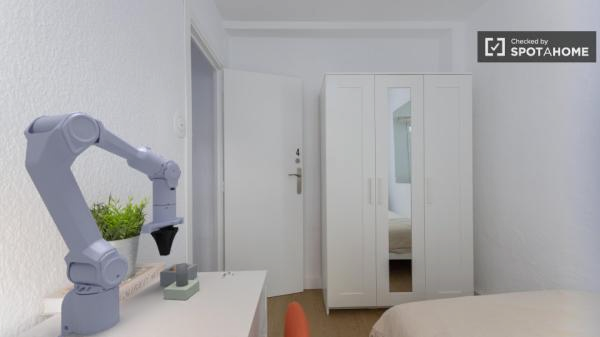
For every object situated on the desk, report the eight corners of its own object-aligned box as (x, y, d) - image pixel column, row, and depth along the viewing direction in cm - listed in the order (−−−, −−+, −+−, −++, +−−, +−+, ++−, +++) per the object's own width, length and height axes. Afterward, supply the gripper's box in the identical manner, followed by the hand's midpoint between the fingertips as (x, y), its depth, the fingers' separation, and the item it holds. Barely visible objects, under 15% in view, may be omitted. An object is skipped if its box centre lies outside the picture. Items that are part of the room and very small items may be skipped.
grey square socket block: (160, 290, 74) (160, 272, 74) (175, 280, 81) (175, 263, 81) (183, 291, 73) (183, 272, 73) (197, 281, 80) (196, 264, 80)
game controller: (238, 283, 79) (237, 274, 79) (196, 288, 76) (196, 278, 77) (238, 276, 84) (238, 268, 84) (200, 280, 82) (200, 271, 82)
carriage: (163, 298, 66) (163, 268, 66) (178, 288, 72) (178, 260, 72) (186, 300, 65) (185, 269, 65) (199, 289, 71) (199, 261, 71)
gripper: (159, 207, 65) (160, 264, 65) (192, 202, 79) (193, 248, 79) (134, 207, 66) (134, 263, 66) (171, 202, 80) (171, 247, 80)
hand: (164, 255), depth 72 cm, fingers closed
